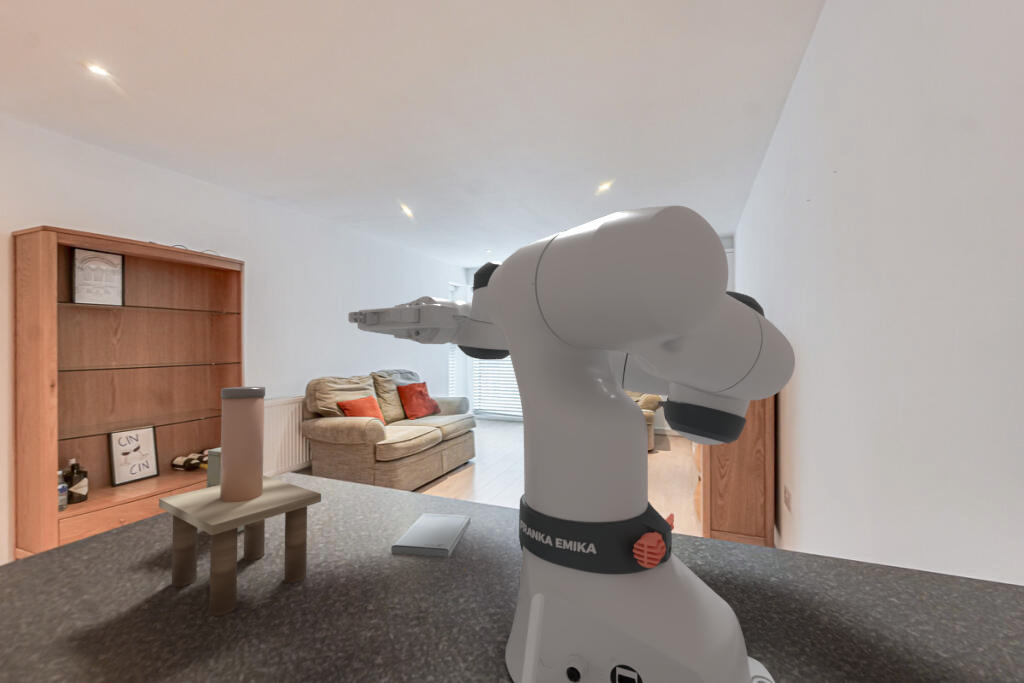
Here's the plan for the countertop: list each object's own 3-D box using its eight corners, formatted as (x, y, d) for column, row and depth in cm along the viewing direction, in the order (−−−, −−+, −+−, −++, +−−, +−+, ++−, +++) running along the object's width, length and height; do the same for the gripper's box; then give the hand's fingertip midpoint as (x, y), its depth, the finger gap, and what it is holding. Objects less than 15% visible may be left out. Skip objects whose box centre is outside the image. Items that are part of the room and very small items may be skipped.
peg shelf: (320, 575, 55) (321, 493, 55) (210, 625, 45) (212, 525, 45) (261, 546, 62) (262, 475, 63) (157, 583, 53) (159, 498, 53)
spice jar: (271, 494, 54) (272, 387, 55) (230, 505, 51) (232, 390, 51) (251, 487, 57) (253, 386, 57) (211, 497, 53) (213, 388, 53)
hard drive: (449, 548, 60) (470, 514, 72) (391, 544, 61) (421, 511, 73) (449, 561, 60) (470, 525, 72) (391, 557, 61) (421, 522, 73)
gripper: (473, 336, 77) (414, 333, 66) (394, 338, 89) (331, 336, 78) (473, 300, 77) (414, 291, 66) (394, 306, 89) (332, 300, 78)
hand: (369, 315), depth 72 cm, fingers open, 8 cm apart
